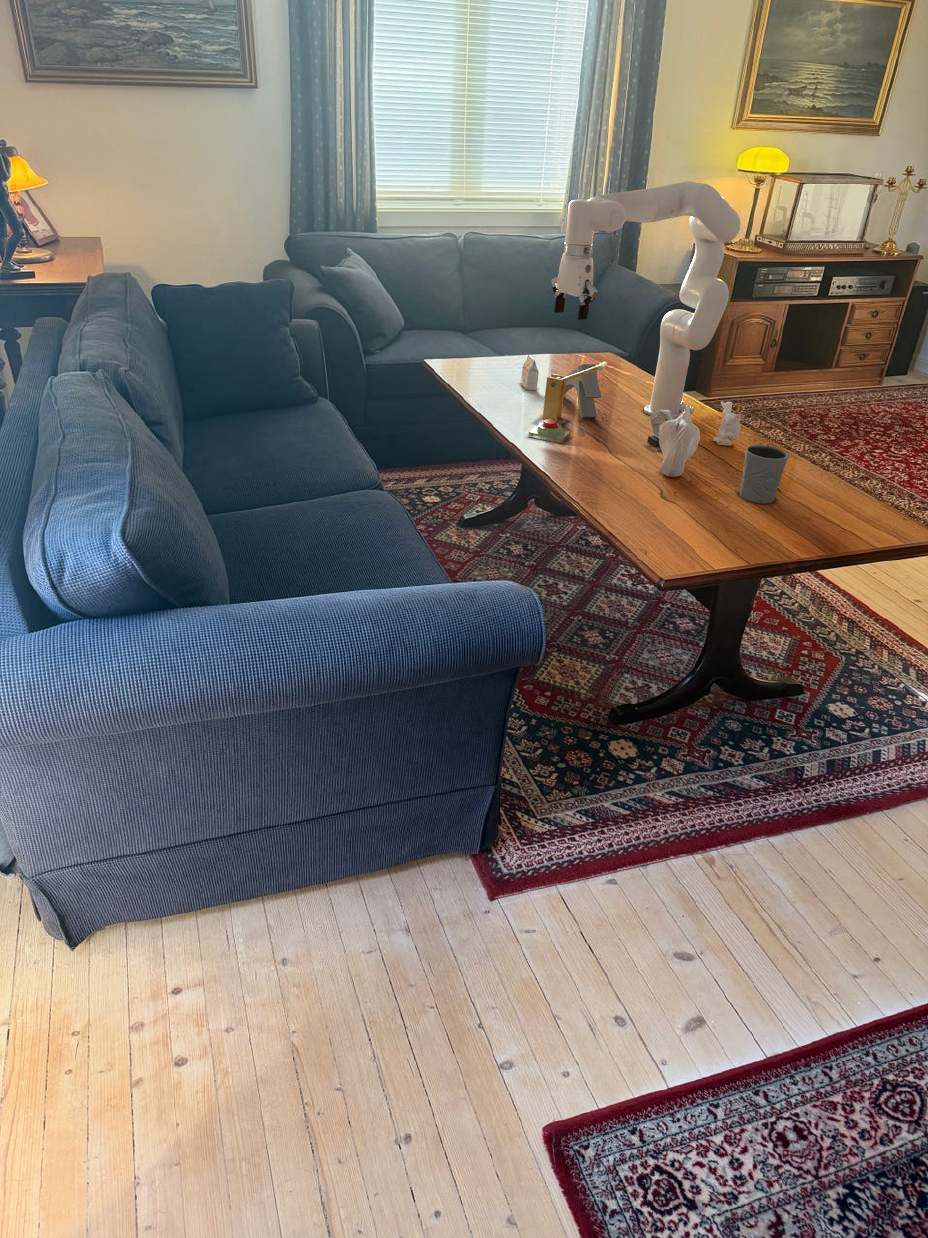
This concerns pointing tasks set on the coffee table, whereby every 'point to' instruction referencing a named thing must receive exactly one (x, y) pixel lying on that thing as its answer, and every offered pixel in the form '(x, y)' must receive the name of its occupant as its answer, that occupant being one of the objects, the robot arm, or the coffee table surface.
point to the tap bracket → (554, 397)
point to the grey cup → (762, 473)
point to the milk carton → (529, 374)
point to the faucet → (585, 390)
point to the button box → (549, 433)
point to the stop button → (550, 424)
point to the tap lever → (585, 372)
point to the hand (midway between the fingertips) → (570, 315)
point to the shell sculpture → (678, 443)
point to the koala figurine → (728, 426)
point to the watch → (656, 421)
